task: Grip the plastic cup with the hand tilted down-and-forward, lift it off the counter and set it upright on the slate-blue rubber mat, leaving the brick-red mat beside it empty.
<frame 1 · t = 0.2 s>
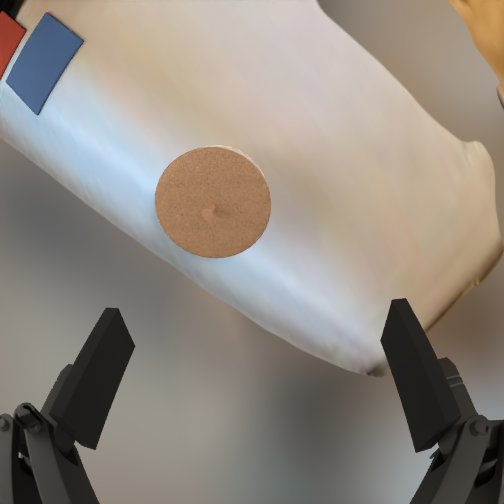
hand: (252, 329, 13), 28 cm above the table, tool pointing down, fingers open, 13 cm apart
blue mat: (40, 62, 28), on the table
white bowl with cork: (222, 183, 38), on the table
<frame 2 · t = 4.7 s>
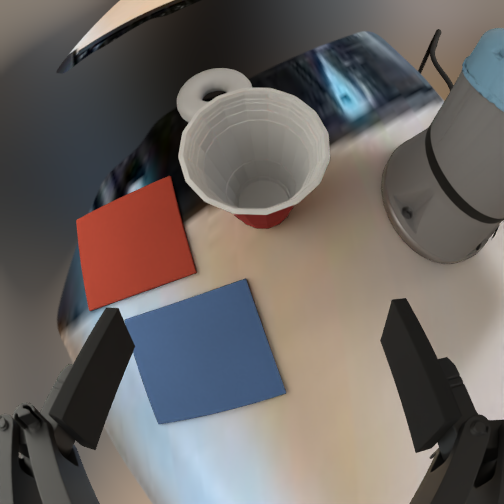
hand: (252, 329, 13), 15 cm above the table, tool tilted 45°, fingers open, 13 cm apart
plastic cup: (264, 206, 31), on the table
blue mat: (199, 357, 28), on the table
donut: (217, 105, 35), on the table
red mat: (127, 243, 31), on the table
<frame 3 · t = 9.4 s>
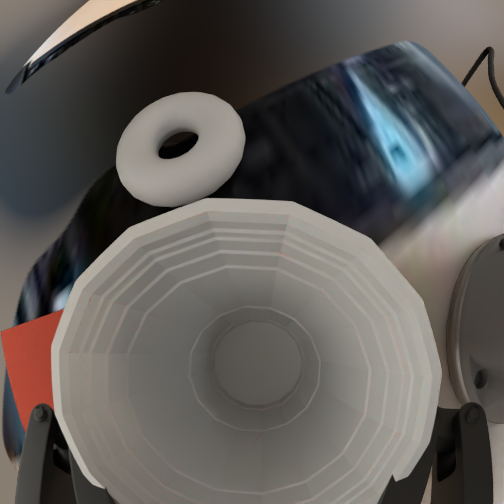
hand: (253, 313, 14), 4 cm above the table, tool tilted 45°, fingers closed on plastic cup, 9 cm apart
plastic cup: (259, 366, 17), on the table, touching gripper
donut: (184, 157, 22), on the table
red mat: (61, 388, 17), on the table
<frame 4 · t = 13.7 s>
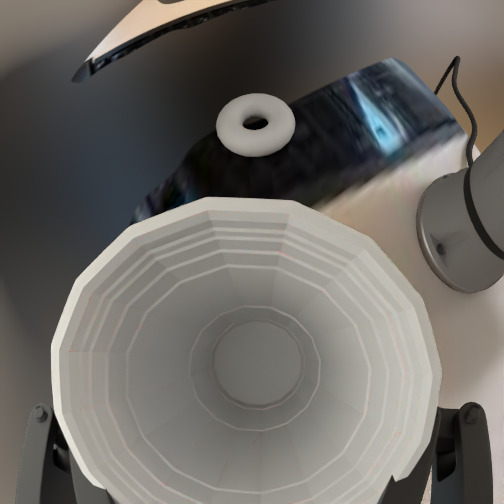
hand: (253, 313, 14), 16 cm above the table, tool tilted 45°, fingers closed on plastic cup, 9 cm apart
plastic cup: (259, 366, 17), point 12 cm above the table, touching gripper
donut: (256, 132, 36), on the table
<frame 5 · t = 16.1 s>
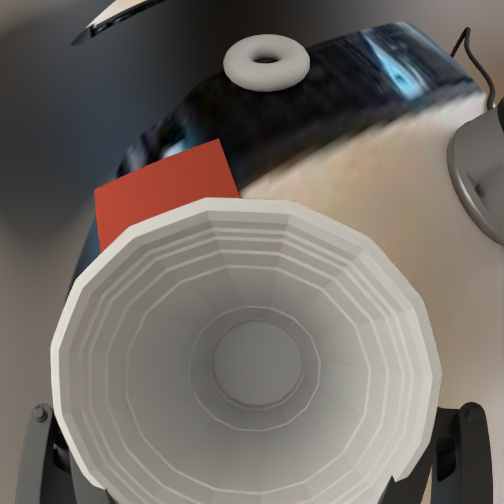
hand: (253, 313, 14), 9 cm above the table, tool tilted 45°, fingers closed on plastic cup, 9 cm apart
plastic cup: (259, 366, 17), point 5 cm above the table, touching gripper
donut: (267, 72, 30), on the table
red mat: (164, 216, 26), on the table
when the fingers open (4 cm above the table, at t = 17.9 s): plastic cup stays where it is, resting on blue mat.
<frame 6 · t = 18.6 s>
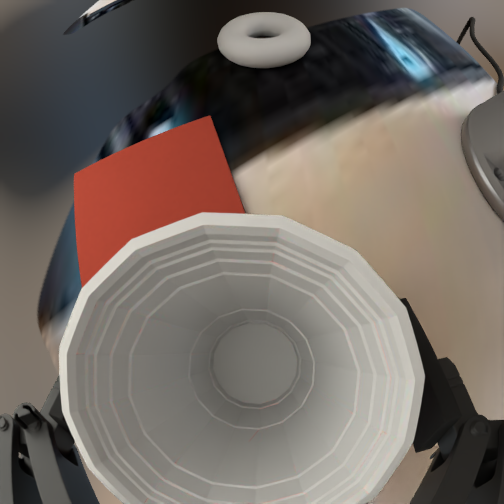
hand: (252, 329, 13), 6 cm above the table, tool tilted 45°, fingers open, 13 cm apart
plastic cup: (257, 366, 18), resting on blue mat
donut: (264, 50, 26), on the table
red mat: (146, 200, 22), on the table
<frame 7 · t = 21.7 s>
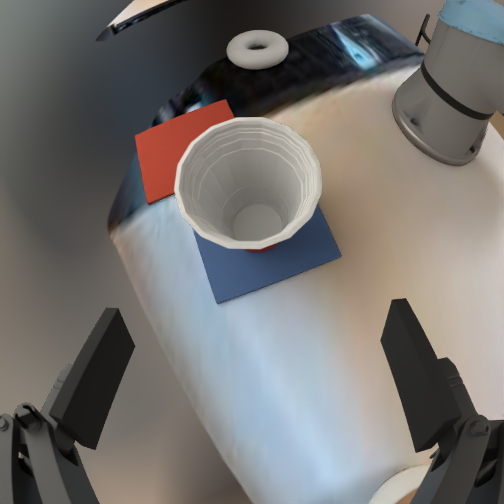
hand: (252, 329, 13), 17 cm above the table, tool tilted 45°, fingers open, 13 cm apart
plastic cup: (259, 229, 32), resting on blue mat
blue mat: (260, 229, 32), on the table
white bowl with cork: (400, 491, 22), on the table
donut: (258, 56, 40), on the table
red mat: (189, 147, 36), on the table
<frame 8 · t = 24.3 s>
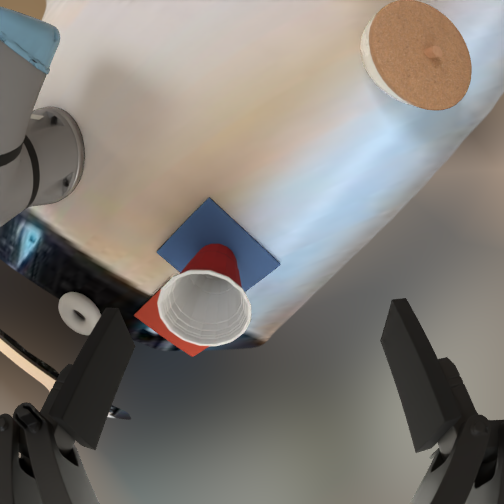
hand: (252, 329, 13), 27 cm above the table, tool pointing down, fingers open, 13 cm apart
plastic cup: (217, 258, 42), resting on blue mat
blue mat: (217, 257, 43), on the table
white bowl with cork: (392, 60, 28), on the table
donut: (83, 308, 50), on the table
red mat: (182, 321, 49), on the table
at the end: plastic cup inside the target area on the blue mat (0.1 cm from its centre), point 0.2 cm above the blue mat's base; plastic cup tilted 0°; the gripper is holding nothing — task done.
